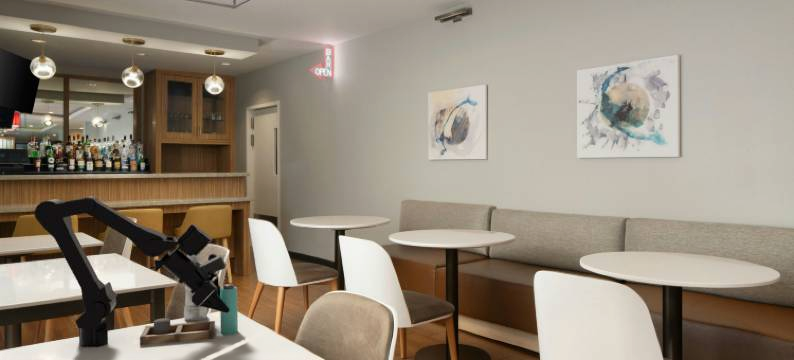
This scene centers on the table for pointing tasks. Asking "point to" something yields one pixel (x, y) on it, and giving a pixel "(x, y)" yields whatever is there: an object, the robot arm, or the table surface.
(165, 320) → the dark gray rounded cylinder
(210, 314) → the table surface
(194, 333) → the tray
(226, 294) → the teal rounded cylinder
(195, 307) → the plastic bottle
